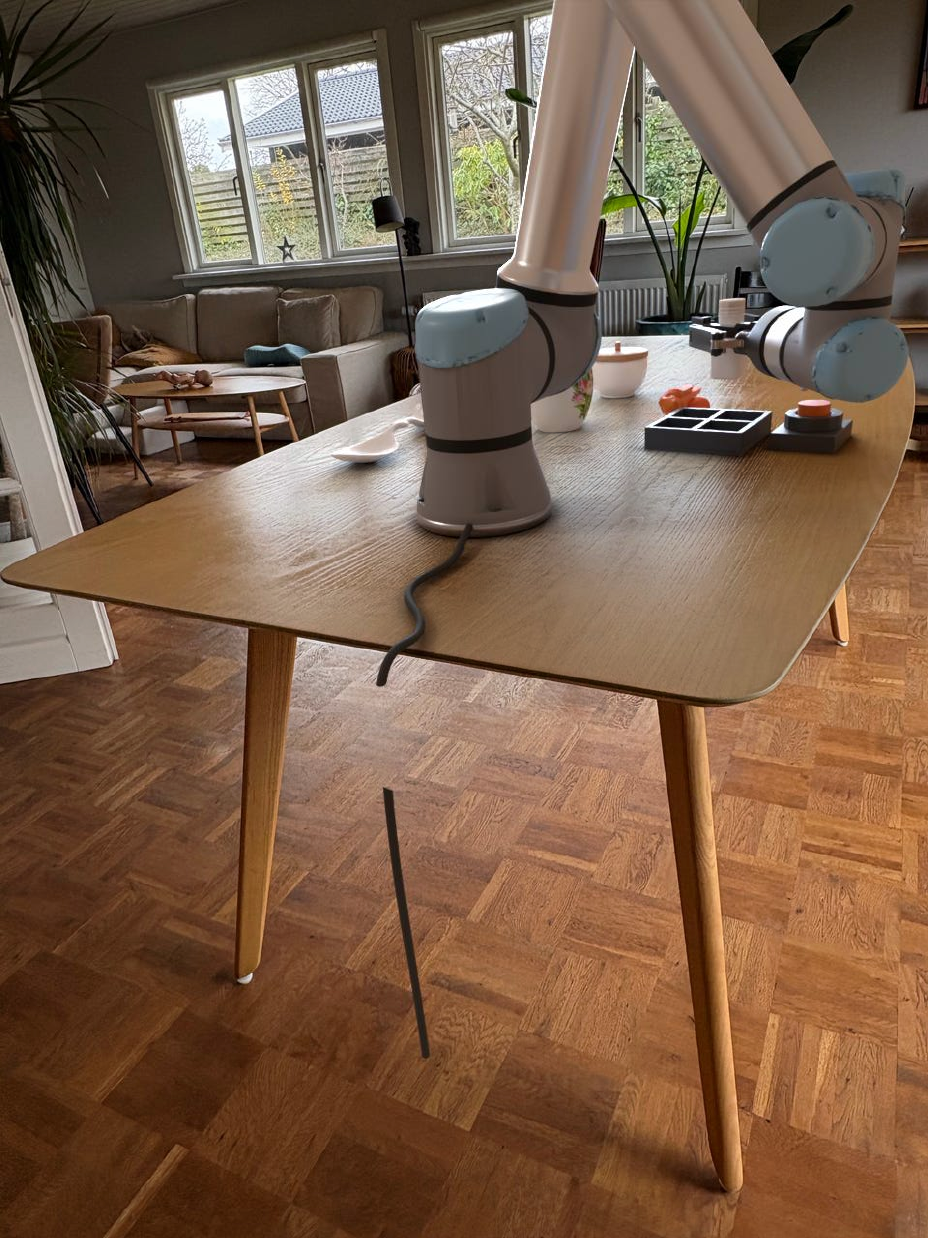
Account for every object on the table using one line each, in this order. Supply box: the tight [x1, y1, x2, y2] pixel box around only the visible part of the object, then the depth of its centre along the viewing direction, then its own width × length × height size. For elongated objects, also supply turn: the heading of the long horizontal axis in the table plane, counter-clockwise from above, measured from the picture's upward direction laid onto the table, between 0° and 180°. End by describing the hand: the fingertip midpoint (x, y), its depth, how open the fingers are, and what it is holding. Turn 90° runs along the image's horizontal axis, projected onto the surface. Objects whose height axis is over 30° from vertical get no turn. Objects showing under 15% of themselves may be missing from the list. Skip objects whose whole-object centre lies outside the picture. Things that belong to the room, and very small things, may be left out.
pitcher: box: [531, 368, 594, 433], centre depth 126 cm, size 11×18×14 cm, turn 149°
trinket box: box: [592, 340, 649, 399], centre depth 146 cm, size 11×11×9 cm
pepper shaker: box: [709, 297, 749, 381], centre depth 103 cm, size 4×4×10 cm
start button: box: [797, 399, 832, 417], centre depth 107 cm, size 4×4×2 cm
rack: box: [643, 407, 773, 458], centre depth 113 cm, size 13×13×3 cm
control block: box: [768, 407, 854, 455], centre depth 108 cm, size 10×8×4 cm
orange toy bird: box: [658, 382, 711, 416], centre depth 126 cm, size 5×8×12 cm
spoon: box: [330, 403, 425, 464], centre depth 127 cm, size 9×32×4 cm, turn 156°
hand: (715, 325), depth 107 cm, fingers closed on pepper shaker, 5 cm apart
